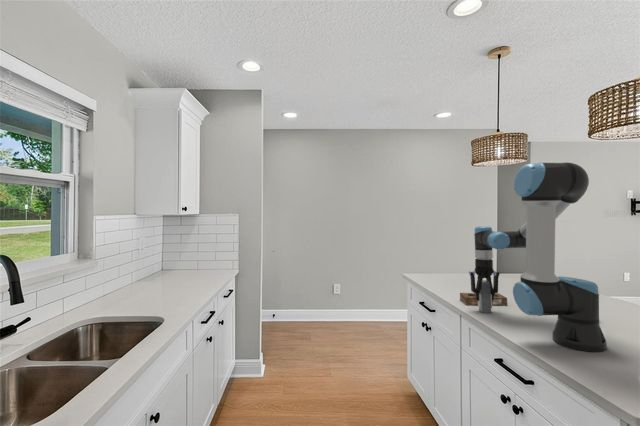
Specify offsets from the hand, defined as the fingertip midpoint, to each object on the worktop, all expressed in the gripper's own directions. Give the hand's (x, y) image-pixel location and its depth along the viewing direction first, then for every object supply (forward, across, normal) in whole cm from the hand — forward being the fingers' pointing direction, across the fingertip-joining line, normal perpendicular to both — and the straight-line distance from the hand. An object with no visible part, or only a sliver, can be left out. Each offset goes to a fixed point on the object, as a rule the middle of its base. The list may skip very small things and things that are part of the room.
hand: (484, 307), depth 155 cm
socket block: (+2, -5, -16) cm, 17 cm away
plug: (+2, 0, 0) cm, 2 cm away
